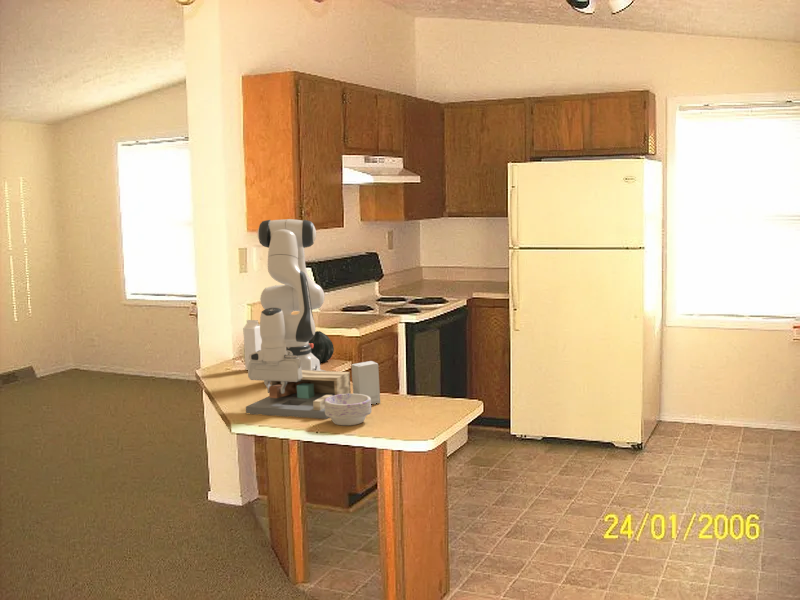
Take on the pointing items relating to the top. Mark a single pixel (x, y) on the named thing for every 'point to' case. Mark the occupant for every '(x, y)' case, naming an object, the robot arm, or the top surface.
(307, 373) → the shelf
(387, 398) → the top surface
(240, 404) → the top surface
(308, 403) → the board
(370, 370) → the skincare box
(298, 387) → the block
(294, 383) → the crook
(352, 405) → the paper bowls
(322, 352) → the squash
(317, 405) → the stick
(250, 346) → the milk
